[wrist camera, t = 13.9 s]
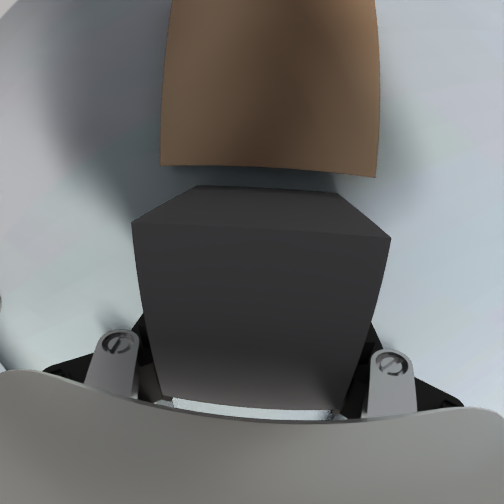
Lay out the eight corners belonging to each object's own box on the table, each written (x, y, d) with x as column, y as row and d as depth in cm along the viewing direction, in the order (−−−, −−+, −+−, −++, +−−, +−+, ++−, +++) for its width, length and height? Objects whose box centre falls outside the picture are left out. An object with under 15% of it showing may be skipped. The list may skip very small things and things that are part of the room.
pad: (170, 163, 10) (160, 166, 9) (182, -1, 7) (174, -12, 6) (366, 174, 9) (375, 177, 8) (366, 6, 7) (373, -5, 6)
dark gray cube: (201, 306, 12) (162, 395, 7) (197, 185, 10) (131, 222, 5) (320, 314, 11) (339, 409, 7) (337, 193, 9) (391, 238, 5)
